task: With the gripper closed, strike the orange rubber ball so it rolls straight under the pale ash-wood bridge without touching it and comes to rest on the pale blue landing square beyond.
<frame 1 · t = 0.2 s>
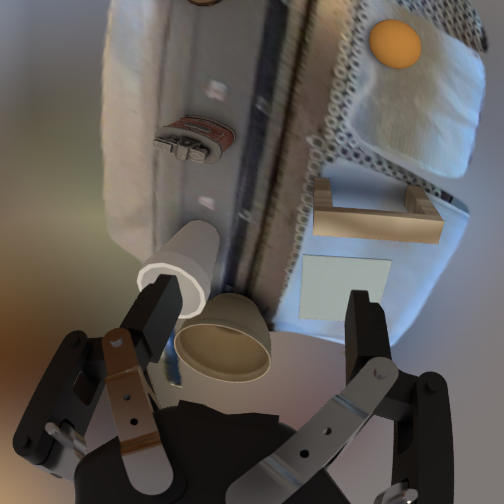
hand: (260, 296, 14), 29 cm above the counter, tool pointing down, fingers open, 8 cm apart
bridge: (368, 191, 39), on the counter
lighter: (207, 129, 38), on the counter
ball: (395, 43, 25), on the counter
foam cup: (201, 236, 49), on the counter
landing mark: (342, 291, 50), on the counter
planter bowl: (235, 309, 57), on the counter
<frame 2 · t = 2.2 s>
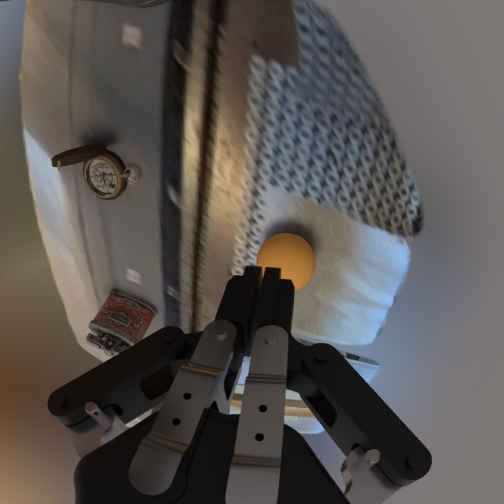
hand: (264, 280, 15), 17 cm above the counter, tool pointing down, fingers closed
bridge: (274, 353, 46), on the counter
compass: (112, 166, 32), on the counter
lighter: (134, 301, 45), on the counter
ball: (286, 262, 31), on the counter
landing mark: (265, 403, 56), on the counter
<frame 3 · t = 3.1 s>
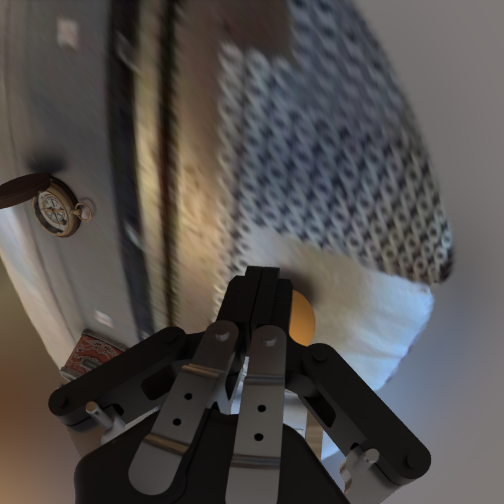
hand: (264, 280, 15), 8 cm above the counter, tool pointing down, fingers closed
bridge: (268, 399, 38), on the counter
compass: (64, 197, 24), on the counter
lighter: (109, 341, 38), on the counter
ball: (277, 323, 24), on the counter
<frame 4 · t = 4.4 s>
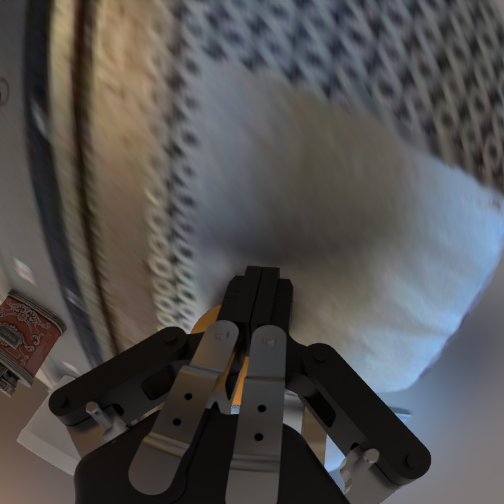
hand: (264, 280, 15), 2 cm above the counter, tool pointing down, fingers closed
bridge: (246, 401, 27), on the counter
lighter: (37, 308, 26), on the counter
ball: (240, 353, 17), on the counter
foam cup: (81, 387, 36), on the counter
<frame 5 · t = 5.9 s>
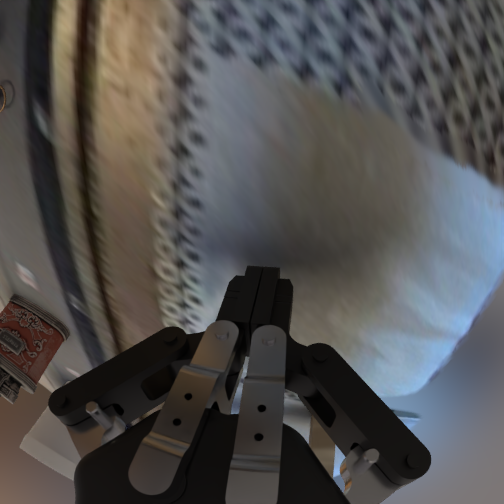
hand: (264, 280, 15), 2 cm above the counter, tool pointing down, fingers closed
bridge: (253, 406, 26), on the counter
lighter: (40, 313, 25), on the counter
foam cup: (85, 393, 36), on the counter
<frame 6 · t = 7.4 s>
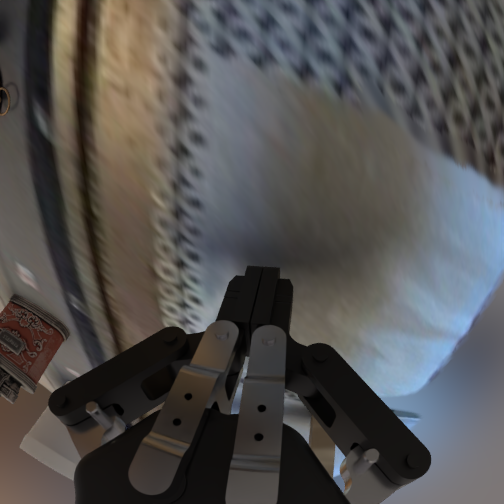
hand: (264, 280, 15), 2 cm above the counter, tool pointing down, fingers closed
bridge: (253, 406, 26), on the counter
lighter: (40, 313, 25), on the counter
foam cup: (85, 393, 36), on the counter
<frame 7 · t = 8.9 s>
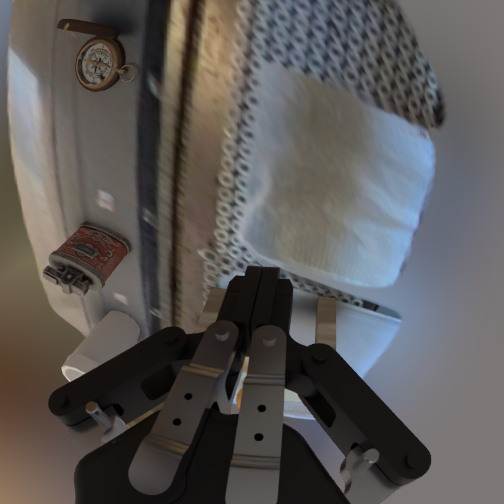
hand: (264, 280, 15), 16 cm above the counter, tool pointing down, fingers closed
bridge: (272, 302, 38), on the counter
compass: (112, 58, 24), on the counter
lighter: (106, 236, 37), on the counter
foam cup: (124, 323, 47), on the counter
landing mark: (262, 378, 48), on the counter
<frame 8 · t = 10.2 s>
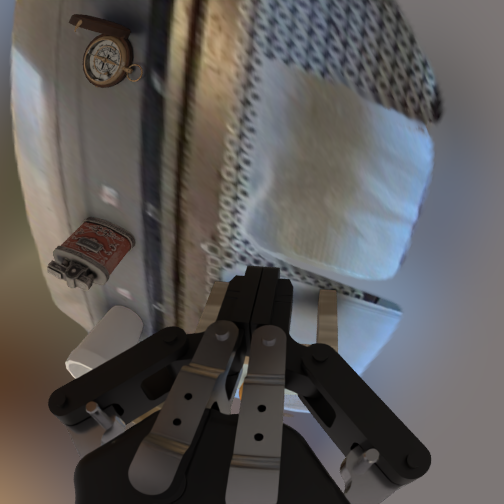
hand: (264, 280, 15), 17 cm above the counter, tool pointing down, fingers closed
bridge: (274, 295, 38), on the counter
compass: (120, 55, 24), on the counter
lighter: (109, 231, 38), on the counter
foam cup: (127, 318, 48), on the counter
planter bowl: (171, 374, 56), on the counter
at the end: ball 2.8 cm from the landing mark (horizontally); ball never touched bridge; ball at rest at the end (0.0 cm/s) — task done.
